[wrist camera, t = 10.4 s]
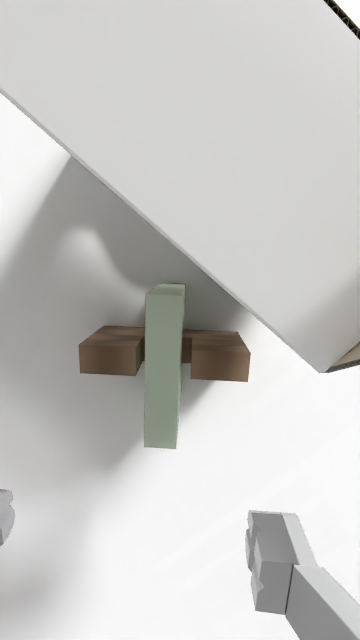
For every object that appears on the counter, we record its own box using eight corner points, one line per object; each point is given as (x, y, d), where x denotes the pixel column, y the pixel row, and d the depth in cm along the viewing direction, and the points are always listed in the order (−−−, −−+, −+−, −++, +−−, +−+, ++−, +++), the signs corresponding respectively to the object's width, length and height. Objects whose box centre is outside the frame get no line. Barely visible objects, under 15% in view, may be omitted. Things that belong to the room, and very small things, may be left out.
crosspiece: (180, 393, 30) (176, 448, 21) (158, 392, 30) (144, 446, 22) (185, 284, 28) (181, 296, 19) (160, 283, 28) (145, 294, 19)
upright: (237, 332, 28) (250, 353, 22) (235, 354, 29) (247, 381, 23) (103, 325, 29) (78, 344, 23) (104, 348, 29) (80, 373, 23)
